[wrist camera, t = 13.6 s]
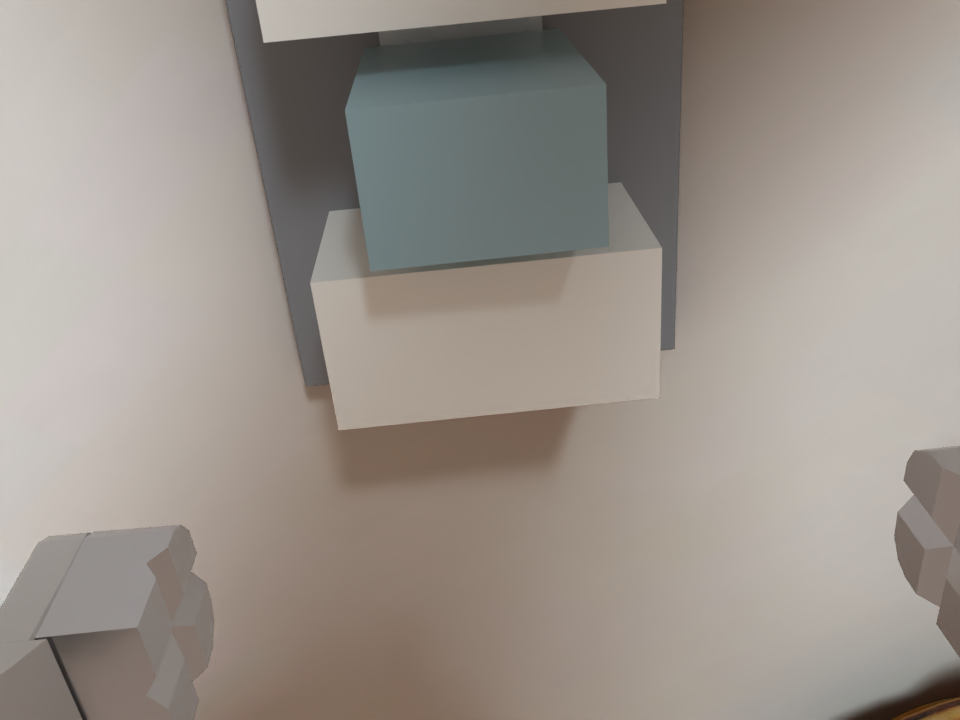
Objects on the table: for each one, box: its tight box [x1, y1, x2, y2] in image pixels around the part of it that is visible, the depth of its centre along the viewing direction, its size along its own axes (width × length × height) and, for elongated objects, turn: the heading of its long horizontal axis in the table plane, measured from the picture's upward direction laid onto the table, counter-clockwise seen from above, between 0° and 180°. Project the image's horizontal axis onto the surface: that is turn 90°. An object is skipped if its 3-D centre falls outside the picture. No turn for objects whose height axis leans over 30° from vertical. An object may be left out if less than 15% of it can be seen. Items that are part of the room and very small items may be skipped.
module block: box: [345, 28, 609, 271], centre depth 25 cm, size 4×6×8 cm, turn 95°
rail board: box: [226, 0, 684, 430], centre depth 27 cm, size 20×14×8 cm
